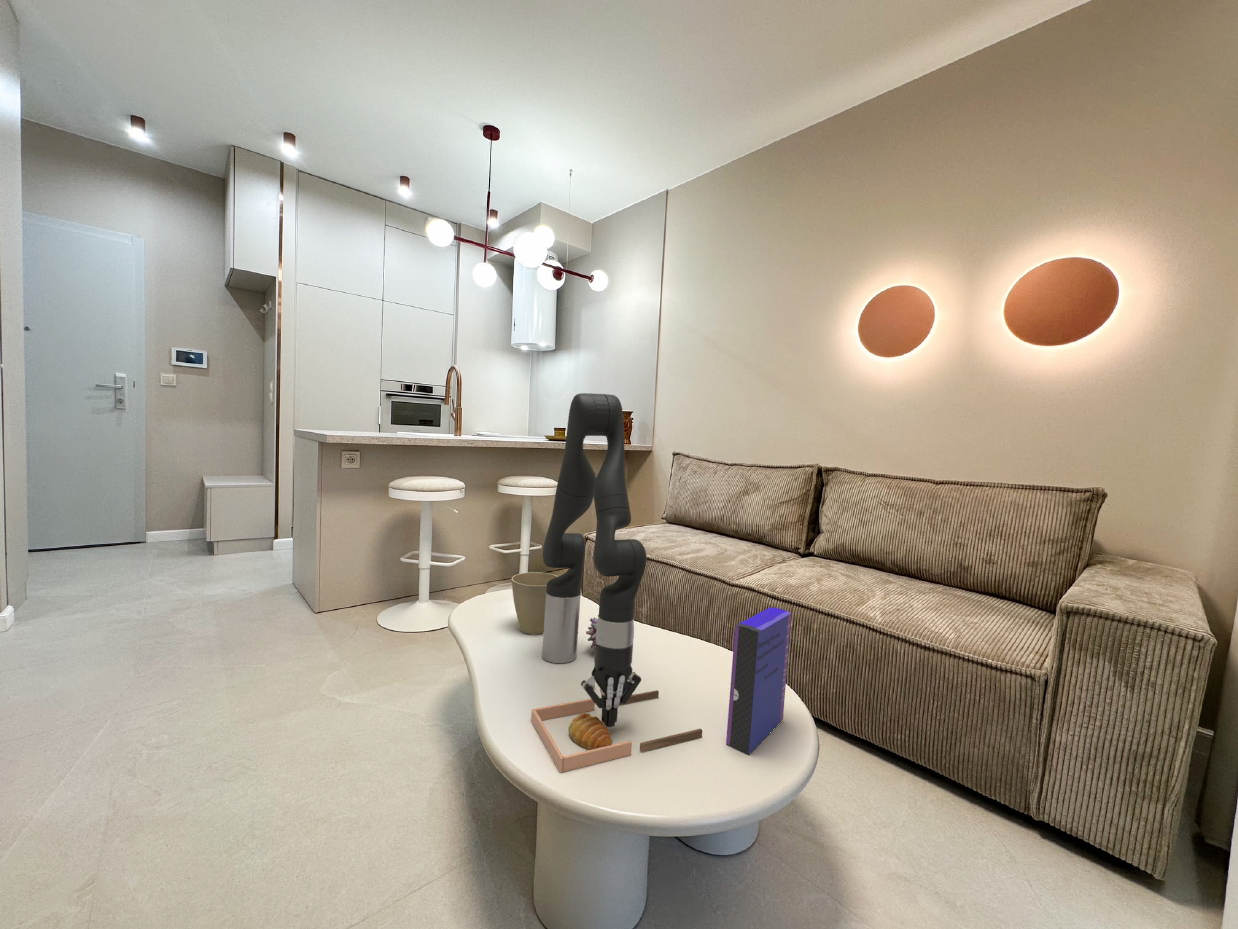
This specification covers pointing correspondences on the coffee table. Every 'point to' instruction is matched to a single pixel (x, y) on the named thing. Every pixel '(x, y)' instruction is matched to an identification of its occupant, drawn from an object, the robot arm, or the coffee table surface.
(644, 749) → the walnut chute
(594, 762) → the terracotta pen
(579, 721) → the pastry
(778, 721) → the cereal box
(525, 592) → the plant pot
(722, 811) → the coffee table surface
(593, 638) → the purple spiky ball
